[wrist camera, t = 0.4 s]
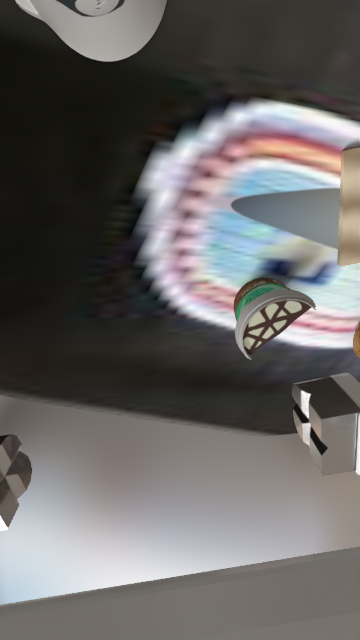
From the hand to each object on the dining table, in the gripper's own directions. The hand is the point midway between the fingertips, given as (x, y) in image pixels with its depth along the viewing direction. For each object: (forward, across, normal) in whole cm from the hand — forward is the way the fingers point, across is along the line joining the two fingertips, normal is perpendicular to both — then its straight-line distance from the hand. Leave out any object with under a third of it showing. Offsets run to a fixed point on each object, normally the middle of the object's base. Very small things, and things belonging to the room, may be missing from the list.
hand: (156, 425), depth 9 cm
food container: (+41, -12, +11) cm, 44 cm away
